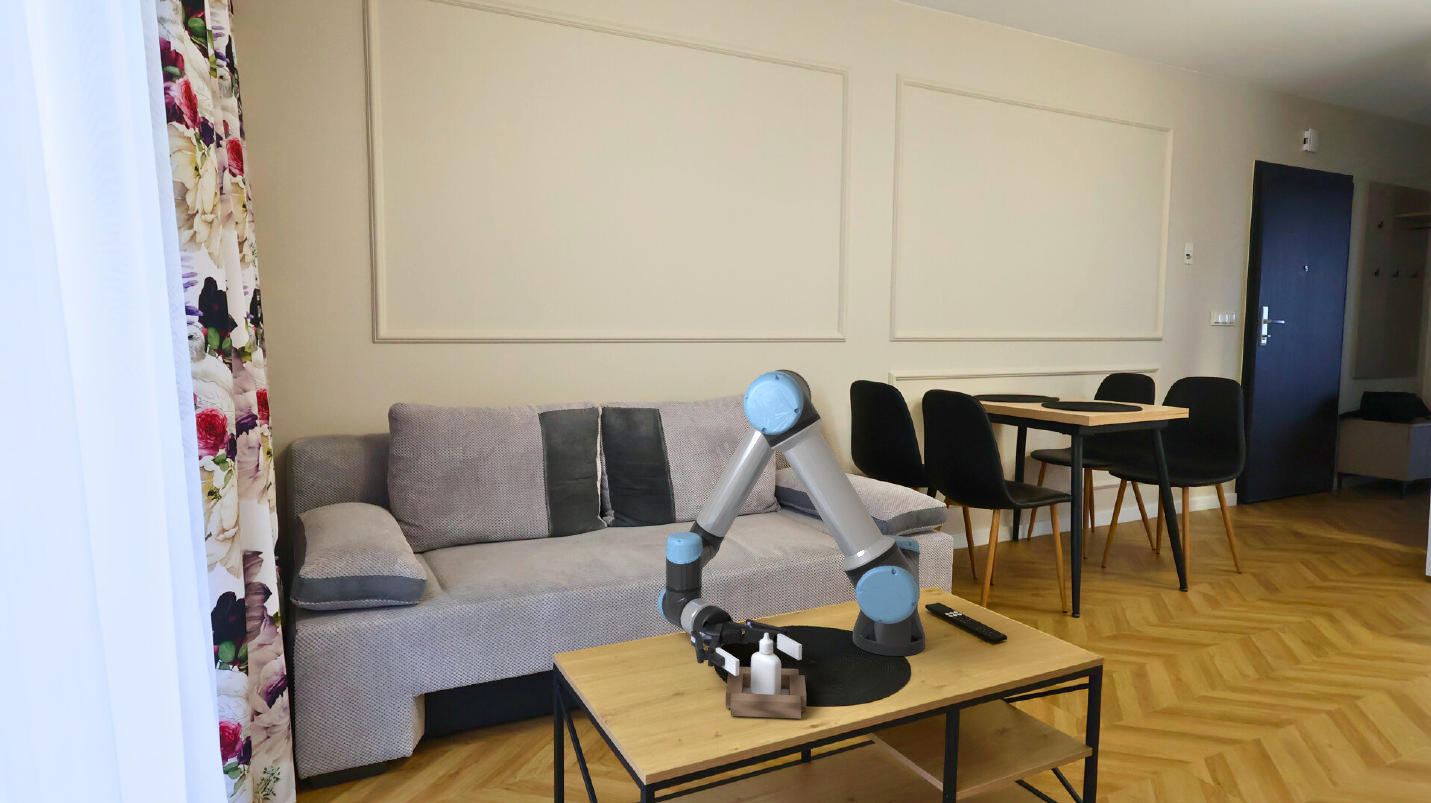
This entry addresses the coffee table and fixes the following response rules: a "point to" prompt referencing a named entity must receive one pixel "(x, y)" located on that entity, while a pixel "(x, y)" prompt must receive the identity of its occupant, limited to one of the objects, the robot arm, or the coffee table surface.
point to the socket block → (766, 696)
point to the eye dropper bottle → (765, 669)
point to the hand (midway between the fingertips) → (769, 660)
